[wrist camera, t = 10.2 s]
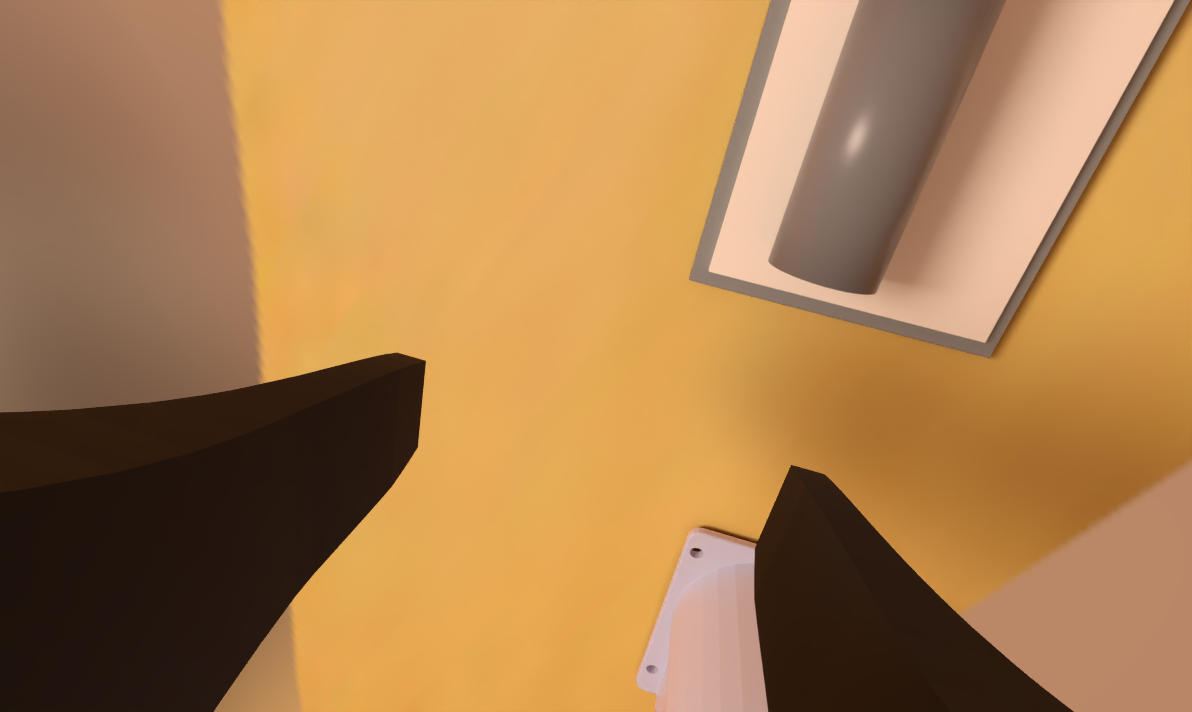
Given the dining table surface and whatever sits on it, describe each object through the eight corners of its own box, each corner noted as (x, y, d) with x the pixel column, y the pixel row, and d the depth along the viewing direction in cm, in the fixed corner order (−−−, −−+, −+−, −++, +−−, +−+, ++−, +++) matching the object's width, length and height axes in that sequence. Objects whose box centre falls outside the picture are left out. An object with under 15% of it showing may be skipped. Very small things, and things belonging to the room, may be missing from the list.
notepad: (983, 353, 18) (993, 361, 17) (689, 277, 18) (688, 282, 18) (1271, -166, 12) (1302, -182, 12) (841, -242, 13) (848, -260, 13)
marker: (899, 296, 15) (825, 292, 14) (817, 260, 17) (746, 253, 16) (1117, -172, 11) (1043, -249, 10) (972, -138, 13) (895, -195, 12)
